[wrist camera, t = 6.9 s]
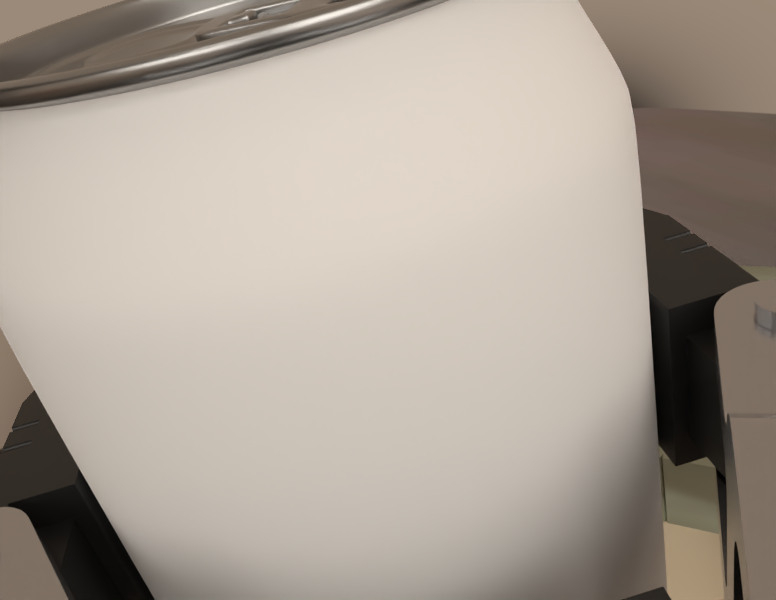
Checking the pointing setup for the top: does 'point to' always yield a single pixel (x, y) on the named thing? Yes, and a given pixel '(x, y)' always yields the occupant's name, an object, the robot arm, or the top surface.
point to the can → (339, 294)
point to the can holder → (694, 518)
